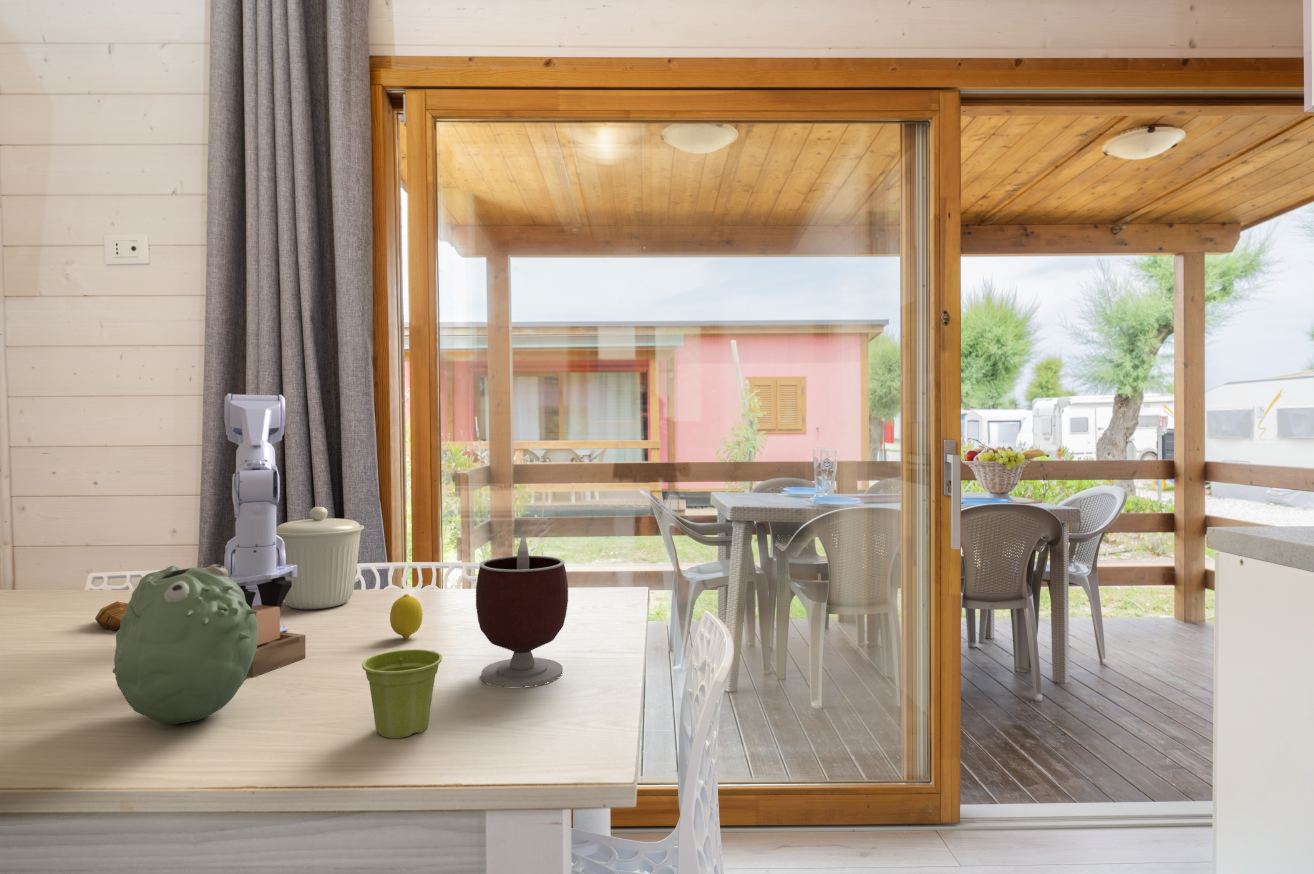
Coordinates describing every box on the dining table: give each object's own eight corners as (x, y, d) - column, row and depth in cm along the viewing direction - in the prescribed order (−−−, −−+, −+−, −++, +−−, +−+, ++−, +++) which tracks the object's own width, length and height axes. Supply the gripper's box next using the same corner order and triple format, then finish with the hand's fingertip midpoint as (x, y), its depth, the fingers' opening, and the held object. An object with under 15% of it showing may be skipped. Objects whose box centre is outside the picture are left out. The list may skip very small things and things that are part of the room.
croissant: (151, 629, 137) (151, 602, 137) (108, 637, 131) (108, 609, 131) (124, 618, 145) (125, 593, 145) (83, 625, 139) (83, 599, 139)
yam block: (234, 642, 114) (234, 611, 114) (258, 635, 118) (258, 604, 118) (256, 645, 113) (256, 613, 113) (279, 637, 117) (279, 606, 117)
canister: (341, 615, 147) (341, 511, 147) (253, 614, 147) (253, 511, 147) (377, 595, 165) (377, 502, 165) (298, 594, 165) (298, 502, 165)
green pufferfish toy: (206, 688, 104) (206, 549, 104) (290, 712, 95) (290, 560, 95) (78, 726, 91) (78, 567, 91) (162, 759, 82) (161, 582, 82)
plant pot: (375, 715, 94) (375, 649, 94) (448, 713, 95) (448, 647, 95) (350, 746, 85) (351, 672, 85) (432, 743, 86) (432, 670, 86)
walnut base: (204, 669, 113) (204, 645, 113) (259, 651, 122) (259, 629, 122) (252, 677, 109) (252, 652, 109) (305, 657, 119) (305, 634, 119)
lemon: (412, 643, 127) (412, 598, 127) (383, 641, 128) (383, 596, 128) (428, 635, 132) (428, 591, 132) (400, 633, 133) (400, 590, 133)
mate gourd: (569, 686, 105) (570, 549, 105) (471, 692, 103) (471, 551, 103) (565, 654, 120) (565, 534, 120) (480, 659, 118) (480, 536, 118)
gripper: (234, 553, 107) (234, 644, 107) (311, 539, 121) (311, 620, 121) (199, 550, 110) (199, 639, 110) (279, 537, 123) (279, 617, 123)
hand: (256, 629), depth 116 cm, fingers closed on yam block, 4 cm apart
